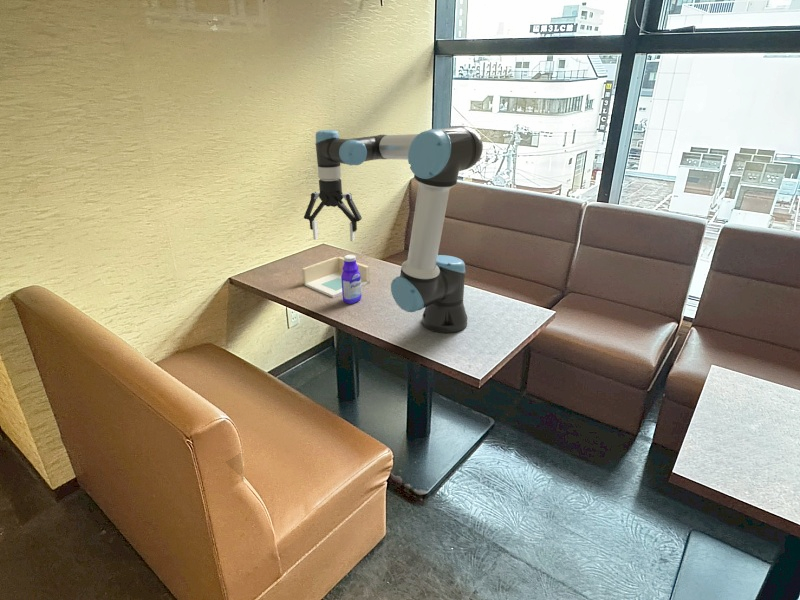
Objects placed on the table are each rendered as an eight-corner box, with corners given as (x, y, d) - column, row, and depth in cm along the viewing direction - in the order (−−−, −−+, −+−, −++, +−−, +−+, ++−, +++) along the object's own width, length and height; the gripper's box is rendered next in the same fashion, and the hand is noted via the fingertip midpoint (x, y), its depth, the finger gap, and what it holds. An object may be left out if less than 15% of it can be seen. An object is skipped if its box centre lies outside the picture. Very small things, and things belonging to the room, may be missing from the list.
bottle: (351, 306, 182) (349, 260, 174) (339, 302, 185) (337, 257, 177) (364, 299, 187) (362, 255, 180) (353, 295, 190) (351, 251, 183)
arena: (369, 282, 201) (369, 266, 198) (333, 297, 188) (332, 280, 185) (339, 271, 212) (338, 255, 209) (303, 284, 199) (301, 268, 196)
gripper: (368, 177, 170) (371, 237, 179) (299, 175, 175) (304, 234, 184) (362, 182, 164) (365, 244, 173) (290, 179, 168) (296, 240, 177)
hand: (334, 239), depth 178 cm, fingers open, 13 cm apart
